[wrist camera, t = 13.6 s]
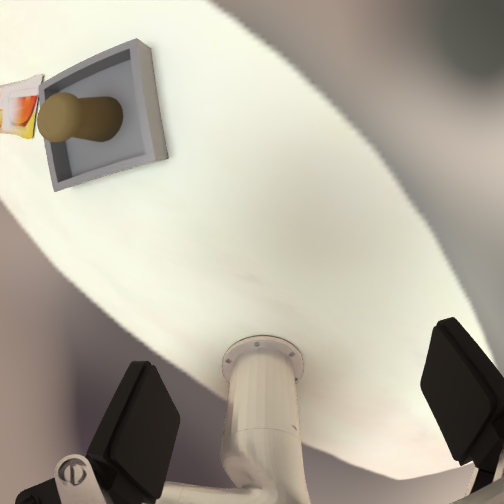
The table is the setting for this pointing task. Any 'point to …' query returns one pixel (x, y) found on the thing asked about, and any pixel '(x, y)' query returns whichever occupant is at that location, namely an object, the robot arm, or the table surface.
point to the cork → (79, 118)
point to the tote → (134, 115)
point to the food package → (19, 106)
